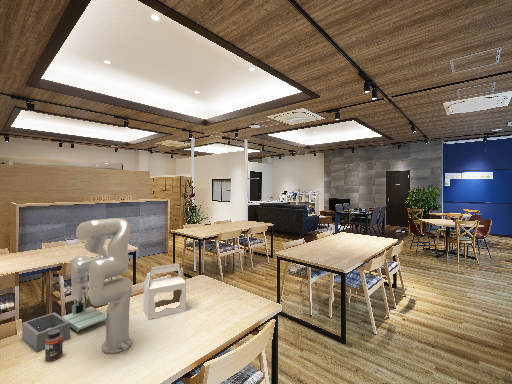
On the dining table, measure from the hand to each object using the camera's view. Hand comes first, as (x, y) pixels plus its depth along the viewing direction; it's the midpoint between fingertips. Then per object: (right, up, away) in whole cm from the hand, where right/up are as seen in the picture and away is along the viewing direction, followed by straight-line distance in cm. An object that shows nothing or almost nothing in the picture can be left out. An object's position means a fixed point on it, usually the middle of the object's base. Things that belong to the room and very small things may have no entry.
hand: (78, 311), depth 144 cm
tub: (-3, -4, -19) cm, 20 cm away
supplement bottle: (+11, -5, -32) cm, 35 cm away
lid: (+7, -3, -4) cm, 8 cm away
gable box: (+43, -6, +12) cm, 46 cm away
